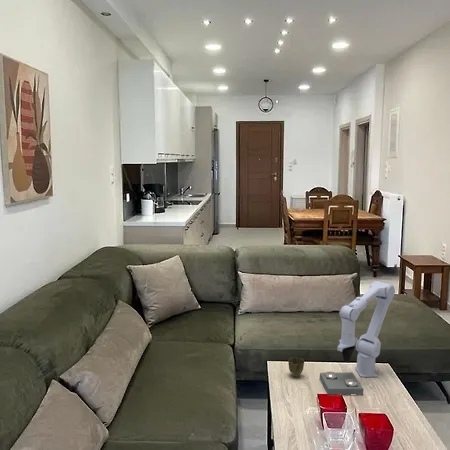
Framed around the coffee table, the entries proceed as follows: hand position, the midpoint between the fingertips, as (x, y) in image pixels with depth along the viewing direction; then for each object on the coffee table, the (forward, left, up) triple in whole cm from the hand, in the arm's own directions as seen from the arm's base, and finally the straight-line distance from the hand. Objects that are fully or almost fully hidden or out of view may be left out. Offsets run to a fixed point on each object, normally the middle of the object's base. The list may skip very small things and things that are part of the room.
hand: (346, 361), depth 210 cm
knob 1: (0, -7, -10) cm, 12 cm away
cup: (-7, -21, -10) cm, 25 cm away
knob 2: (+7, 0, -10) cm, 12 cm away
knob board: (+4, -3, -10) cm, 11 cm away
